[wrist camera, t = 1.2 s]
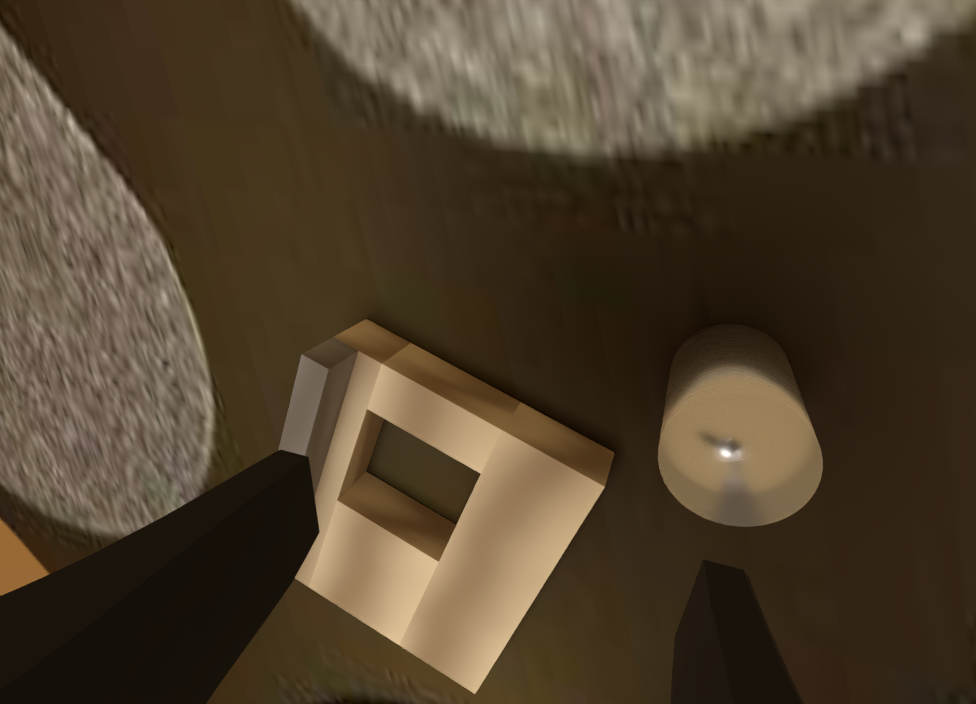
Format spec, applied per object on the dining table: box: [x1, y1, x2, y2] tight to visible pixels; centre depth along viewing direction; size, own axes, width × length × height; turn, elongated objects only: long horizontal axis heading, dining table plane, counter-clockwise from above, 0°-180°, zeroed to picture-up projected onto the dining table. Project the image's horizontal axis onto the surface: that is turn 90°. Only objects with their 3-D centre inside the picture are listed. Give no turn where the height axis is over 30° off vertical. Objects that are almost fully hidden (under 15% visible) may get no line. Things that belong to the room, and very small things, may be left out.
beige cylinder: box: [658, 324, 823, 527], centre depth 18 cm, size 4×4×6 cm
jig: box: [278, 319, 614, 694], centre depth 25 cm, size 12×14×4 cm
